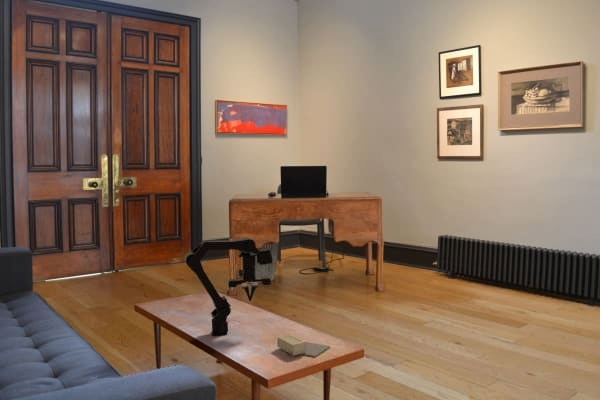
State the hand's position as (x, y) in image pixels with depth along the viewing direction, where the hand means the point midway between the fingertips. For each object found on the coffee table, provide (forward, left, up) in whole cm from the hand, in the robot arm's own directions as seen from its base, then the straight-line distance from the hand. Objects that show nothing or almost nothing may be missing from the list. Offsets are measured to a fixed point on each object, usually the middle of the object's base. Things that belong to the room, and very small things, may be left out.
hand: (250, 300), depth 244 cm
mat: (+20, -31, -13) cm, 39 cm away
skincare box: (+11, -26, -10) cm, 30 cm away
